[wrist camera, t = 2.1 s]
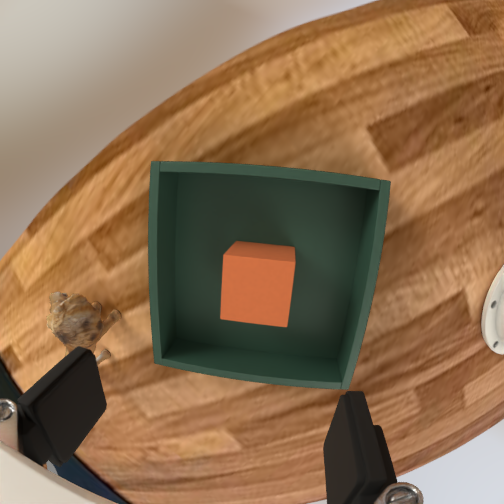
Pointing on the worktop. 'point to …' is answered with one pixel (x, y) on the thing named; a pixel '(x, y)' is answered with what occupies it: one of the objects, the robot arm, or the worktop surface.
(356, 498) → the robot arm
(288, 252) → the toy cube
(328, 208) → the crate
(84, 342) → the lion figurine
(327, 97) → the worktop surface
